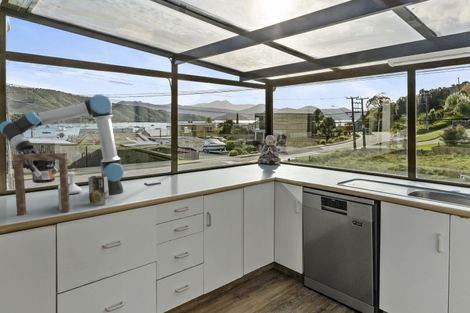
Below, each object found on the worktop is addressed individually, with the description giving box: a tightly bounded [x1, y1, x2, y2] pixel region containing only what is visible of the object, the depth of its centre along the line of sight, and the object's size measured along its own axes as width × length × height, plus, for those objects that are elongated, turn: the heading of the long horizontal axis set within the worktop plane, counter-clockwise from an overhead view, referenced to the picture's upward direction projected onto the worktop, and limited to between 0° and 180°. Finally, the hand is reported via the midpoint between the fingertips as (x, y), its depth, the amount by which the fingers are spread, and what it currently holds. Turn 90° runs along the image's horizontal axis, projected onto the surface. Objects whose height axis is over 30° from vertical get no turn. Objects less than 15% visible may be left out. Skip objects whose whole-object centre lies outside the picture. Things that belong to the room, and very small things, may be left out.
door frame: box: [12, 152, 71, 216], centre depth 156 cm, size 24×3×31 cm, turn 104°
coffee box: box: [87, 175, 110, 206], centre depth 176 cm, size 9×6×16 cm
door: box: [57, 183, 62, 212], centre depth 166 cm, size 15×3×12 cm, turn 29°
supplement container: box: [31, 160, 56, 184], centre depth 164 cm, size 10×10×12 cm
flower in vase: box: [67, 156, 83, 195], centre depth 203 cm, size 13×11×25 cm
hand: (48, 174), depth 163 cm, fingers closed on supplement container, 10 cm apart
